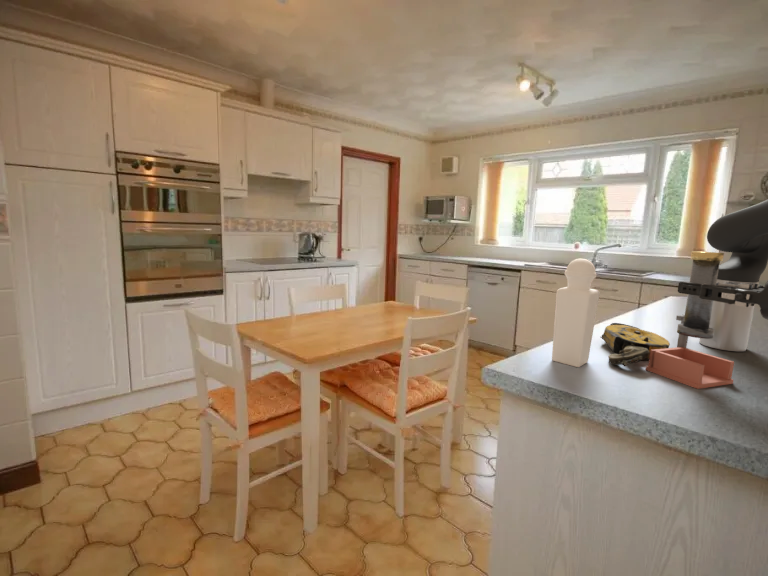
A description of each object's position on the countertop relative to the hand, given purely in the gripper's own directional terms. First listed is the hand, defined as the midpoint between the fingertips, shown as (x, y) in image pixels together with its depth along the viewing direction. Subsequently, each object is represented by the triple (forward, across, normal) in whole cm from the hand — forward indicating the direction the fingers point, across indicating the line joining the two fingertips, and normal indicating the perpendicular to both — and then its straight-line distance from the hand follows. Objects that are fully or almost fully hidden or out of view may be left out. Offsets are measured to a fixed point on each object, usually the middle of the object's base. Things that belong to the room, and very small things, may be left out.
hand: (685, 286), depth 79 cm
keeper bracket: (-3, 0, +18) cm, 18 cm away
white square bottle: (+13, +15, +18) cm, 26 cm away
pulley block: (+11, -4, +18) cm, 21 cm away
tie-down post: (-3, 0, +9) cm, 9 cm away
